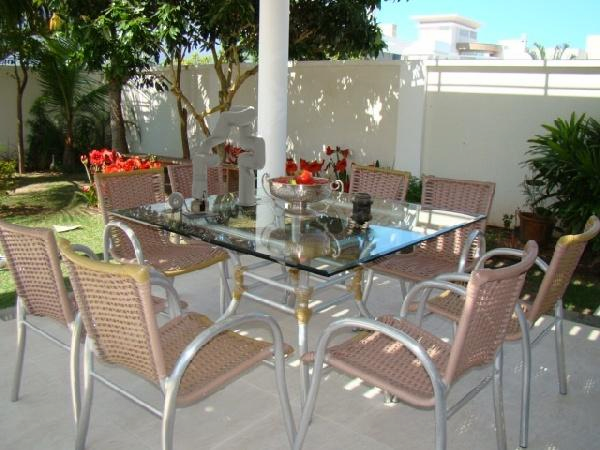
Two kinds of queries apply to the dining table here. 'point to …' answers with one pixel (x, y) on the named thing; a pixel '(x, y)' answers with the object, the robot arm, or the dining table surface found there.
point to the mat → (199, 214)
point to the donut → (172, 202)
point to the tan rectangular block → (198, 206)
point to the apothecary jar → (361, 208)
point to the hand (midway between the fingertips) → (200, 209)
